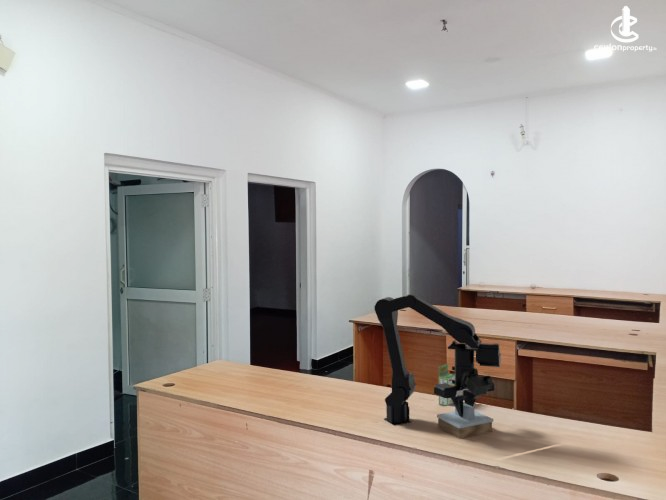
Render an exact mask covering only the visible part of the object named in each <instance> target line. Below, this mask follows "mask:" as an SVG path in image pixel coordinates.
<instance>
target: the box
mask: <svg viewBox="0 0 666 500" xmlns="http://www.w3.org/2000/svg"><path fill="white" fill-rule="evenodd" d="M437 419H438V420H437V421H438V423H437V424H438V426H437V427H438V428H439V429H441V430H443V431H444V432H447V433H448V434H450V435H452V436H454V437H456V438H458V439H464V438H469V437H474V436H478V435H482V434H488V433H491V432H493V422H489V423H484V424H479V425H474V426H469V427H464V428H457V427H455V426H453V425H451V424H449V423H447V422H445V421H443V420H441V419H439V418H437Z"/></svg>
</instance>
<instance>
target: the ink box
mask: <svg viewBox="0 0 666 500" xmlns="http://www.w3.org/2000/svg"><path fill="white" fill-rule="evenodd" d="M444 368H445V369H444ZM442 369H444V370H442ZM448 369H449V363H445V364H442V365H440V366H438V384H443V383H446V384H449V385H451V386H455V384H453V383H452V380H455V373H449V370H448ZM438 405H440V406H442V407H443V406H444V407H449V406H453V405H454V403H453V401H452V399H451V398H443V397H441V396H438Z"/></svg>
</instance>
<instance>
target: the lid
mask: <svg viewBox="0 0 666 500" xmlns="http://www.w3.org/2000/svg"><path fill="white" fill-rule="evenodd" d="M436 418H437V419H438V418H439V419H441V420H443V421H445V422H447V423H449V424H451V425H453V426H455V427H457V428H464V427H469V426H474V425H479V424H484V423H489V422H492V423H493V422H494V418H492V417H490V416H487V415H486V414H482V413H480V412H478V411H476V409H475V407H474V406H473V407H472V406H470V405H468V404H465V402H463V417H460V416H459V414H458V412H457V410H456V407H455V406H454V411H450V412H443V413H438V414H437V415H436Z"/></svg>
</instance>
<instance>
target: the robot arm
mask: <svg viewBox="0 0 666 500" xmlns="http://www.w3.org/2000/svg"><path fill="white" fill-rule="evenodd" d="M373 308H374V312H375V314H376V315H375V316H376V318H377V321H379V323H380V325H381V326H382V328H383V333H384V337H385V342H386V347H387V352H388V356H389V361H390V366H391V372H392V373H391V385H390V386H391V392H390V393H389V394H388V395H387V396H386V397H385V398H384V402H385V405H386V407H385V410H386V417H385V418H383V420H384V421H385V422H388V423H389V424H391V425H393V426H399V425H405V424H410V423H412V421H411V420H410V406H409V401H408V400H409V398H410V397H411V396H412V394H413V393H414V392H415V390H416V389H415V388H416V387H415V386H417V383H416V381H415V374H414V372H409V371H408V369H407V366H406V361H405V357H404V352H403V346H402V342H401V338H400V333H399V329H398V318H399V317H398V316H399V311H401V310H404V309H408V308H409V309H411V310H413V311H415V312H417V313H418V314H419V315H422V316H423V317H425V318H427V319H428V320H430V321H431V322H433V323H435V324H437V325H438V326H440V327H441V328H442V329H443V330H445V332H446V333H447V334H448V335H449V336H450V337H451V338H452V339H453V341H452V342H451V343H450V344H449V345H448V346H447V349H448V350H454V365H453V366H452V365H451V370H452V371H454V374H455V380H452V383H453V384H455V386H451V385H449V384H446V383H443V384H439V383H438V384H435V385H434V387H433V394H434V395H435V396H438V397H439V396H441V397H443V398H451V399H452V401H453V403H454V404H453V405H454V408H455V407H456V410H457V412H458V414H459V416H460V417H463V403H465V404H468V405H470V406H472V407H474V405H475V403H476V400H477V399H478V398H479V397H480V396H483V395H487V393H489V392H493V391H495V389H496V388H495V383H494V381H493V377H491V375H485V376H482V375H481V376H479V371H478V368H476V367H475V362H476V363H477V364H479V366H481V367H491V368H501V359H502V358H501V355H502V354H501V349H500V344H499V343H498V342H497V343H495V342H493V343H488V342H487V343H486V342H483V341H482V340H481V338H480V337H479V336H478V334H477V333H476V329H475V326H474V324H472V322H469V321H467V320H464V319H462V318H459V317H457V316H456V317H455V316H452V315H449V314H447V313H446V312H444V311H443V310H441V309H439V308H437V307H436V306H435V305H433V304H431V303H429V302H427V301H425V300H424V299H423V298H421V297H419V295H417V294H415V293H410V294H407V295H404V296H399V297H396V298H393V297H389V296H386V297H384V298H381V299H378V300H377V301H376V302H375V304H374V307H373Z"/></svg>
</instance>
